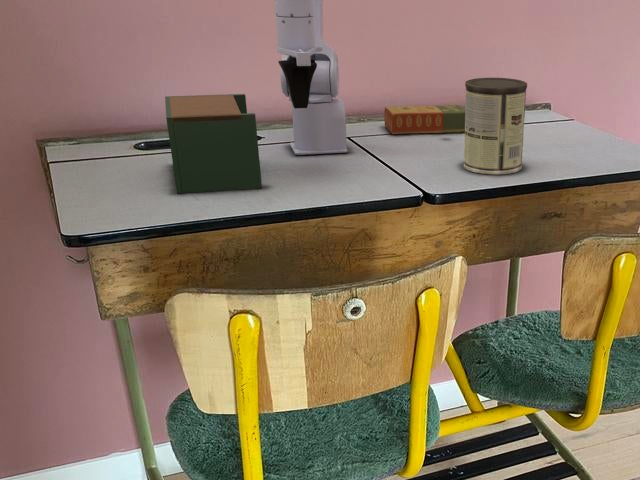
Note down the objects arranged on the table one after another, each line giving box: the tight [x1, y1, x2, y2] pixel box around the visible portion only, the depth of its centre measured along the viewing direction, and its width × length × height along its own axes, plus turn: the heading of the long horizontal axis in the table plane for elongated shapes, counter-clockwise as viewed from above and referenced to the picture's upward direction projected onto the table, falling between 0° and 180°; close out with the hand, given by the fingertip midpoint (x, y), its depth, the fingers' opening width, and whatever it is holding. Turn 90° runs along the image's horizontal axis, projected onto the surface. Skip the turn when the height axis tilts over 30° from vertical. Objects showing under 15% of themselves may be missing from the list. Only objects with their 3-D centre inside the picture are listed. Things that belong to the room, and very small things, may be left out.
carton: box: [383, 104, 465, 135], centre depth 166 cm, size 8×16×4 cm, turn 105°
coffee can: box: [463, 77, 528, 175], centre depth 139 cm, size 10×10×14 cm
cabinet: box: [164, 93, 263, 194], centre depth 131 cm, size 13×17×11 cm
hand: (300, 107), depth 132 cm, fingers closed
